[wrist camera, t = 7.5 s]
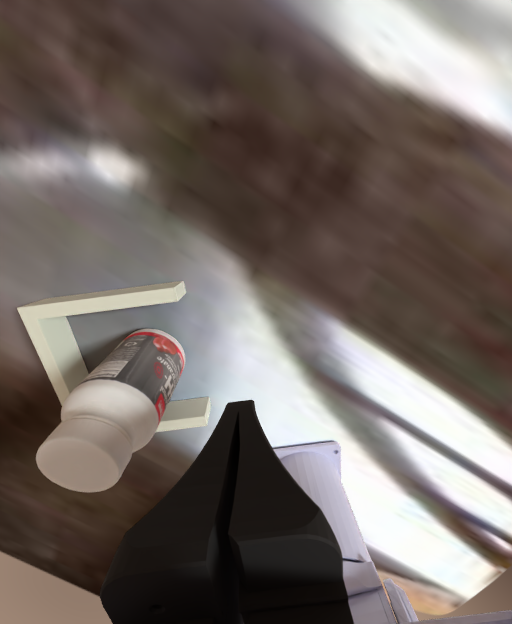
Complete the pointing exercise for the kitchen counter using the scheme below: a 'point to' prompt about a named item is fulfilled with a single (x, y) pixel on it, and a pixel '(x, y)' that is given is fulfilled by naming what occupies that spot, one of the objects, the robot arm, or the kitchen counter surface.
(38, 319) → the u-shaped bracket
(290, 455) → the robot arm
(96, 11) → the kitchen counter surface
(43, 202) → the kitchen counter surface
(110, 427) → the pill bottle
